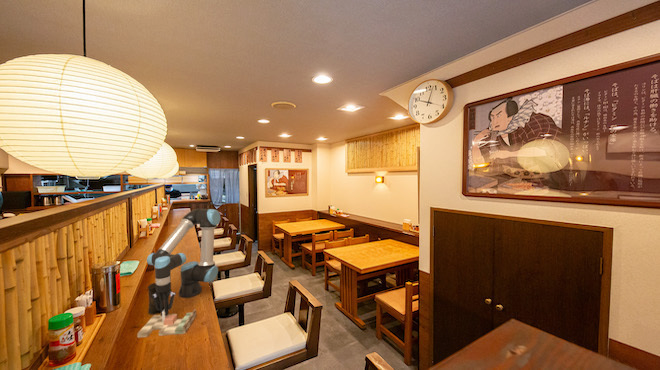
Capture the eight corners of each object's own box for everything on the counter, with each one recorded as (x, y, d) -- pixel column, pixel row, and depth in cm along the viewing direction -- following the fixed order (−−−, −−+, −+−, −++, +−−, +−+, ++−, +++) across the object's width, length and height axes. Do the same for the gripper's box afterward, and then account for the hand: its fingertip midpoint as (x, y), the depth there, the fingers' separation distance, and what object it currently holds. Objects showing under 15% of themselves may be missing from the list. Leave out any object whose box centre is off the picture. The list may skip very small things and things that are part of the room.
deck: (153, 319, 157) (153, 312, 156) (196, 315, 161) (195, 309, 160) (137, 337, 140) (137, 330, 140) (185, 333, 144) (185, 326, 144)
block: (168, 319, 152) (167, 315, 152) (176, 319, 153) (176, 314, 153) (163, 325, 147) (163, 320, 147) (173, 324, 148) (172, 319, 148)
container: (146, 311, 165) (145, 285, 164) (162, 305, 172) (161, 280, 170) (150, 316, 159) (148, 289, 158) (166, 310, 166) (165, 284, 164)
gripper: (147, 286, 143) (149, 325, 145) (172, 285, 145) (173, 323, 147) (154, 280, 151) (156, 317, 152) (177, 279, 153) (179, 316, 154)
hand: (164, 320), depth 150 cm, fingers closed
